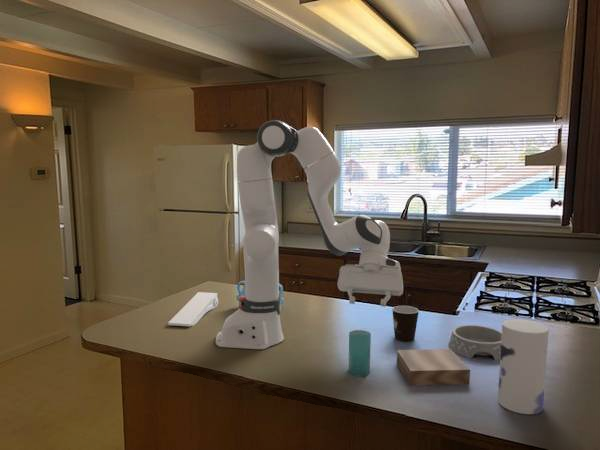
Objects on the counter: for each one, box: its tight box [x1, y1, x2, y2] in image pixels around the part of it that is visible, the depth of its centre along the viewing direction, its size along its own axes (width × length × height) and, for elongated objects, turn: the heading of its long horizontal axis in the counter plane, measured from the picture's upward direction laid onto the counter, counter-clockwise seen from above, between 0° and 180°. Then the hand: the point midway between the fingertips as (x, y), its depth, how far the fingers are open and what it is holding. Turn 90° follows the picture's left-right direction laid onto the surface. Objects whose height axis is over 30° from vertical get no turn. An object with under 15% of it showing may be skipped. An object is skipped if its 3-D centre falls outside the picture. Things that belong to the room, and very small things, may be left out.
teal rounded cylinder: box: [348, 329, 372, 377], centre depth 132 cm, size 6×6×11 cm
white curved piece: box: [167, 291, 219, 327], centre depth 182 cm, size 10×7×28 cm
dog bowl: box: [447, 324, 502, 361], centre depth 150 cm, size 17×18×5 cm
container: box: [497, 318, 550, 415], centre depth 114 cm, size 10×10×20 cm
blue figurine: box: [236, 280, 285, 305], centre depth 189 cm, size 16×16×14 cm
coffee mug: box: [391, 305, 420, 343], centre depth 159 cm, size 12×9×10 cm
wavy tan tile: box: [396, 348, 471, 386], centre depth 132 cm, size 16×14×4 cm
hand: (367, 304), depth 143 cm, fingers open, 8 cm apart
